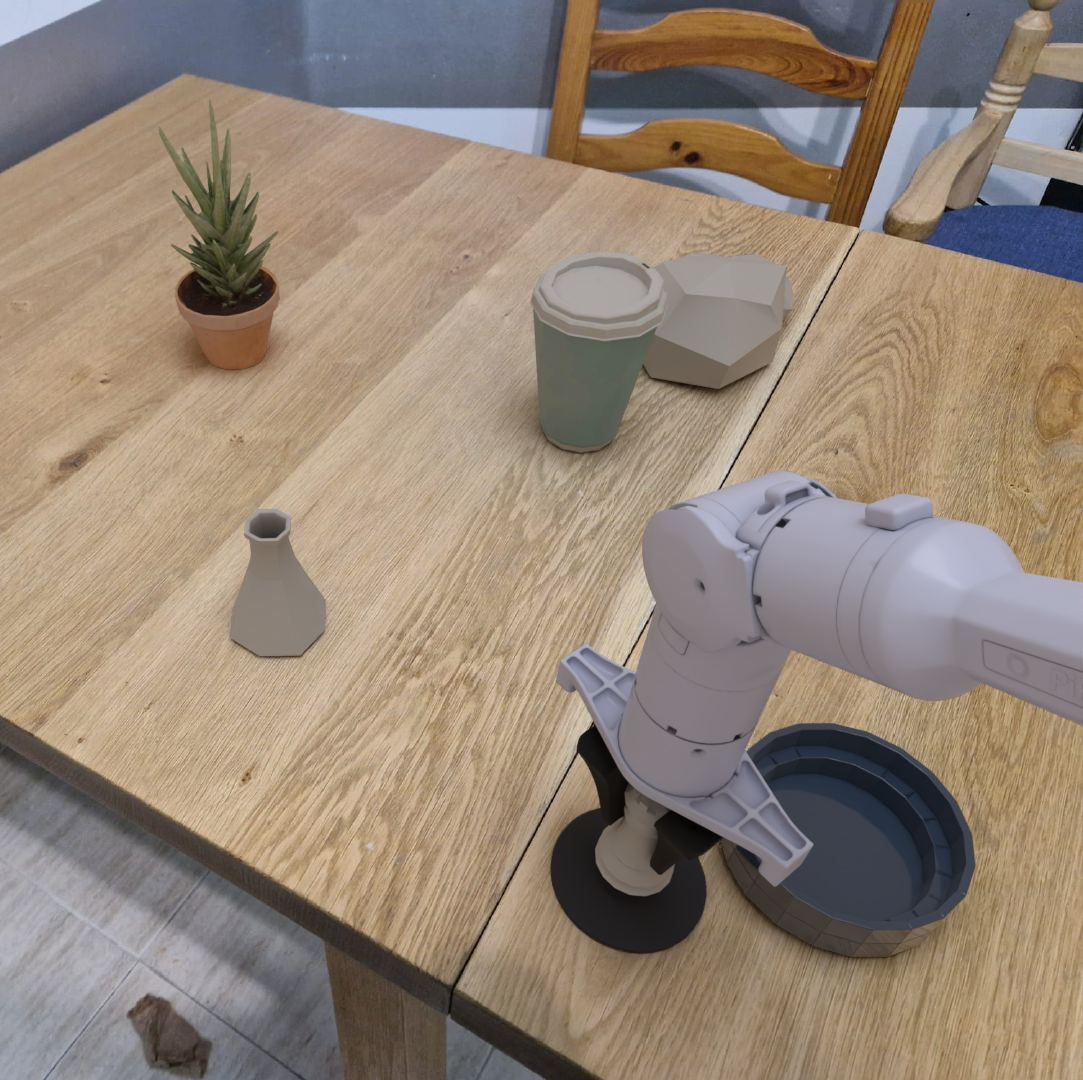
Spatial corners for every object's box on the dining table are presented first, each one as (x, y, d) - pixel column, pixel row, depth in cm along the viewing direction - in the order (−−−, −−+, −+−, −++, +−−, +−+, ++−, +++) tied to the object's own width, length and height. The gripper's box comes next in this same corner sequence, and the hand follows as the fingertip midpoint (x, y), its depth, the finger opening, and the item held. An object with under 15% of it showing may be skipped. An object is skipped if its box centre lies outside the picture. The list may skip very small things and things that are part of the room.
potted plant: (180, 383, 94) (133, 120, 76) (191, 326, 101) (150, 72, 83) (287, 381, 94) (264, 118, 76) (290, 323, 101) (270, 70, 83)
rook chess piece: (588, 887, 57) (610, 817, 51) (598, 819, 60) (621, 745, 54) (668, 909, 56) (700, 839, 50) (675, 839, 59) (706, 765, 53)
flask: (252, 575, 77) (238, 478, 70) (341, 596, 75) (336, 499, 68) (213, 646, 72) (194, 550, 65) (307, 670, 70) (299, 574, 63)
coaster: (737, 893, 59) (739, 890, 58) (629, 986, 55) (630, 983, 55) (624, 783, 64) (625, 780, 63) (518, 862, 60) (519, 859, 60)
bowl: (991, 873, 59) (1021, 840, 56) (856, 1008, 54) (882, 979, 51) (806, 724, 67) (825, 688, 64) (672, 830, 61) (686, 796, 59)
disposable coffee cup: (558, 483, 84) (584, 330, 73) (492, 411, 90) (507, 262, 80) (662, 446, 87) (701, 294, 76) (590, 379, 94) (617, 232, 83)
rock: (575, 307, 102) (589, 219, 95) (750, 276, 106) (776, 189, 99) (661, 414, 90) (684, 322, 83) (855, 375, 93) (893, 283, 87)
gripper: (889, 757, 44) (797, 896, 53) (640, 561, 52) (600, 713, 62) (785, 846, 41) (708, 976, 50) (540, 624, 49) (514, 772, 59)
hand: (642, 836), depth 56 cm, fingers closed on rook chess piece, 3 cm apart
